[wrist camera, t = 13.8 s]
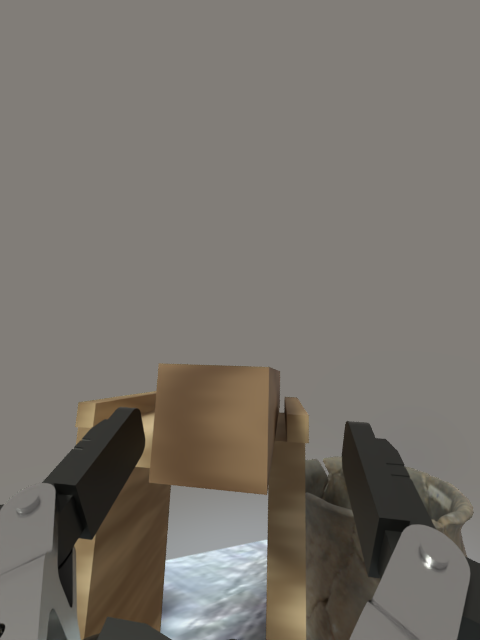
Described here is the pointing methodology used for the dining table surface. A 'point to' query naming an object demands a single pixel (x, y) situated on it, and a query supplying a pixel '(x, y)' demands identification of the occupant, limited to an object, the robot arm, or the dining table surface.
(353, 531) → the pot
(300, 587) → the rack
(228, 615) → the dining table surface
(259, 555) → the dining table surface
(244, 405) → the block
